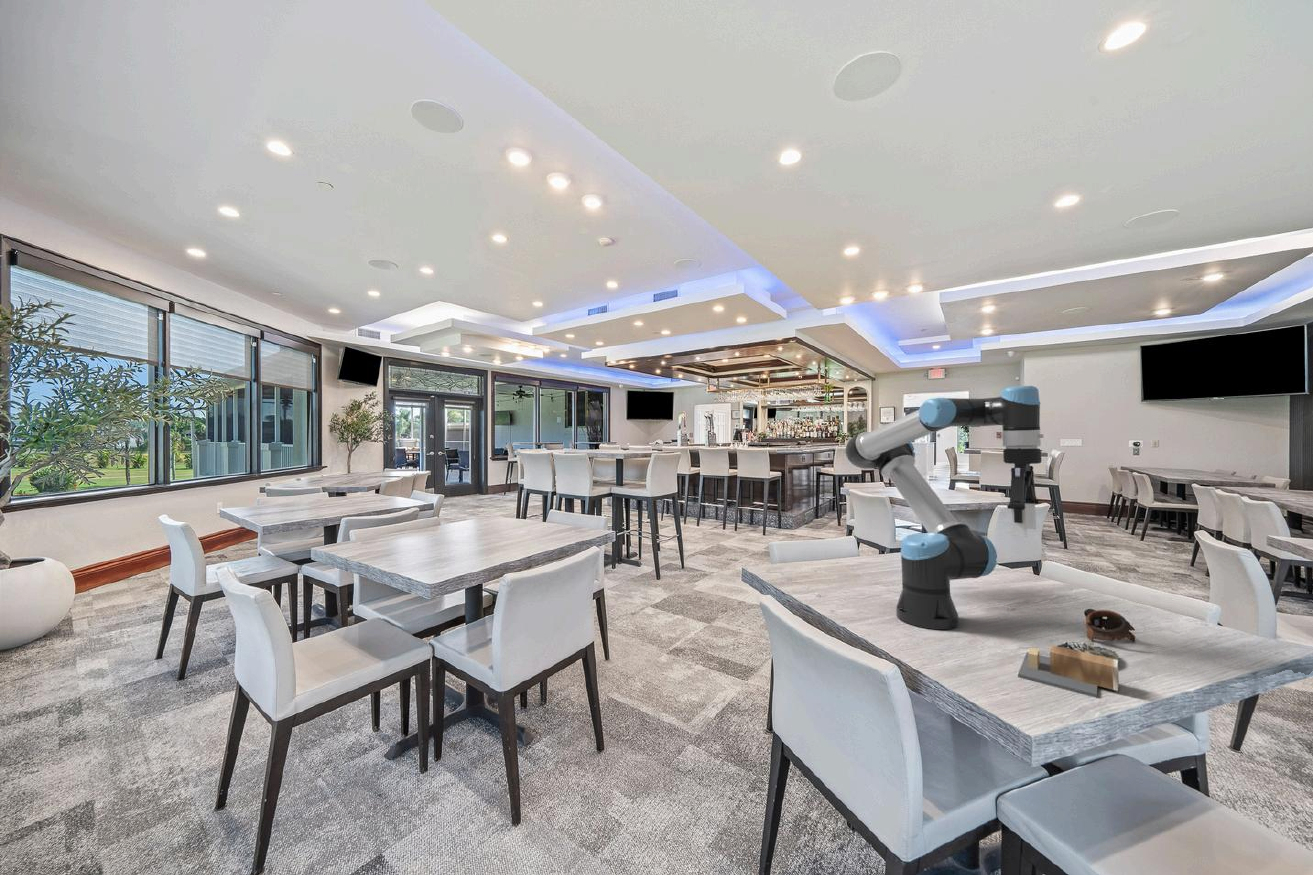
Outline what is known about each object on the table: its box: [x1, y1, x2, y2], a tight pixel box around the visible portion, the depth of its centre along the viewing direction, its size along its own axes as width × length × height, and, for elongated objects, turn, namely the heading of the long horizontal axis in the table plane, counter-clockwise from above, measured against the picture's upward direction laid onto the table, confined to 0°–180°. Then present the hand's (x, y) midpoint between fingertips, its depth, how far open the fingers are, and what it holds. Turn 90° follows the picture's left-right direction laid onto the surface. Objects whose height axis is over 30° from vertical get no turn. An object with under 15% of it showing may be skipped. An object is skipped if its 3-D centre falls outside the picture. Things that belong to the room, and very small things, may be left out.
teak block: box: [1049, 645, 1120, 692], centre depth 95 cm, size 4×4×10 cm
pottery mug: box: [1083, 608, 1137, 644], centre depth 115 cm, size 12×10×8 cm
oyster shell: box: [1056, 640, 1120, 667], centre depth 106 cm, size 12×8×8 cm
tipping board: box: [1017, 647, 1099, 698], centre depth 98 cm, size 12×14×4 cm
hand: (1024, 532), depth 117 cm, fingers open, 13 cm apart
